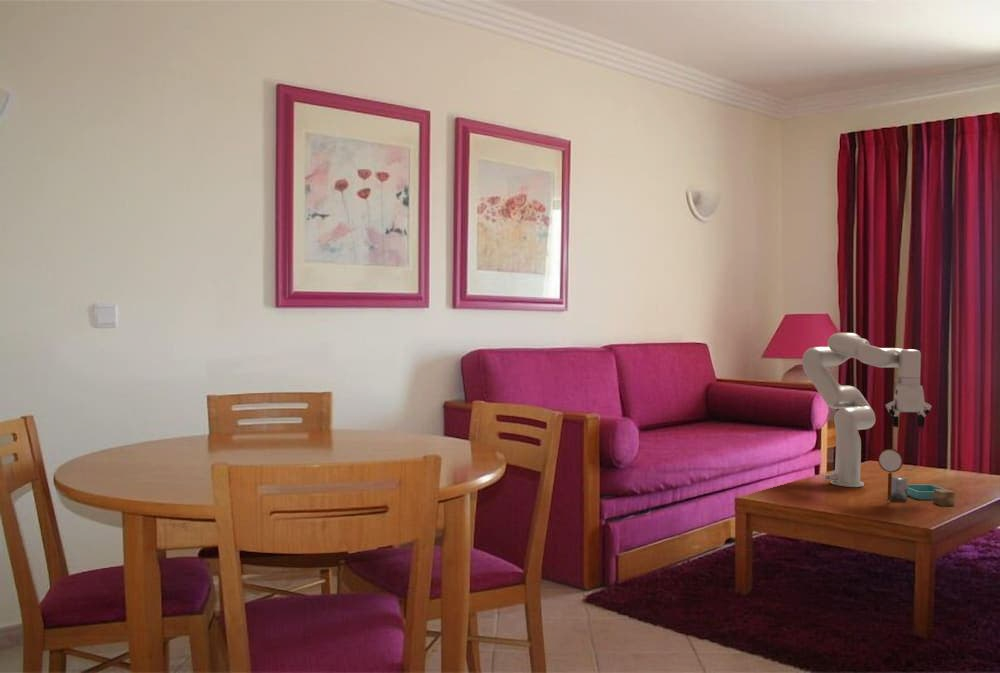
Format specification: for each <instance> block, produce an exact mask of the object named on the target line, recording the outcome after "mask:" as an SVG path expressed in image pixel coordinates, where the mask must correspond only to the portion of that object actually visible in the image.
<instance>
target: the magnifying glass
mask: <svg viewBox="0 0 1000 673" xmlns="http://www.w3.org/2000/svg"><path fill="white" fill-rule="evenodd" d="M877 462H878V465H879V466H880V468H881V469H882V470H884V471H885V472H887V474H888V475H887V476H888V477H887V502H888V503H891V501H892V500H891V484H892V477H893V474H892V473H896V472H898V471H900V469H901V468H902V466H903V463H904V459H903V456H902V455H901V453H900V452H899V451H898V450H896V449H893V448H886V449H884V450H882V451H881V452H880V453H879V454H878V459H877Z"/></svg>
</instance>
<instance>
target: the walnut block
mask: <svg viewBox="0 0 1000 673" xmlns="http://www.w3.org/2000/svg"><path fill="white" fill-rule="evenodd" d="M955 495H956V494H955V491H954V490H953V491H952V490H949V489H946V488H943V489H934V498H933V500H932V501H933V502H932V503H934V504H937V505H939V506H955V499H956V498H955V497H956V496H955Z"/></svg>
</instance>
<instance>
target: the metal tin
mask: <svg viewBox="0 0 1000 673" xmlns="http://www.w3.org/2000/svg"><path fill="white" fill-rule="evenodd" d="M908 485H909V479H908V478H907V477H901V476H892V484H891V499H892V500H891V501H895V500H896V501H897V502H908V496H907V491H908Z"/></svg>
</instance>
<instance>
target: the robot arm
mask: <svg viewBox="0 0 1000 673" xmlns="http://www.w3.org/2000/svg"><path fill="white" fill-rule="evenodd" d="M805 350H806V351H805V352H804V353H803V355H802V359H801V360H802V361H801V363H802V369H803V372H804V373H805V375H806V376H807V378H808V380H810V382H811V383H812V384H813V386H814V387H815V389H816V390H817V391H818V393H819V395H820V396H821V398H822V400H823V401H824V403H825V405H826V406H827V407H829V408H830V409H835V410H837V411H836V412H835V414H834V417H833V424H834V428H835V461H834V462H835V465H834V466H835V467H834V468H835V469H834V471H832V473H830V474H826V473H825V474H823V477H822V478H823V479H824V480H830V484H832V485H835V486H840V487H846V488H847V487H848V488H860V487H861V488H862V487H864V485H865V482H863V481H861V462H862V461H861V459H862V440H861V436H860V434H859V431H861V430H868V429H871V428H872V427H874V425H875V423H876V421H877V420H876V414H875V411H874V410H873V408H872V407H871V405H870V403H869V402H868V401H867V400H866V398H865V397H864V395H863V393H861V391H860V390H859V389H858V388H857V387H855V386H852V385H841V384H840V383H839V382H838V381H837V380H836V378H835V376H834V375H833V374H832V373H831V372H830V371H829V370H827V369H826V368H827V367H829V368H830V367H838V366H840V365H842V364H843V363H845V362H846V361H848V360H849V359H851V358H853V359H855V360H858V361H860V363H863V364H864V365H865V364H866V365H869V366H871V367H872V366H873V367H876V368H898V377H897V378H895V379H894V382H895V383H897V385H896V387H895V391H894V397H893V400H892V401H890V402H888V403H885V408H886V410H887V412H888V413H889V414H890V416H891V424H892V427H894V428H899V423H900V422H899V419H900V418H899V415H900V414H901V413H917V414H918V416H917V427H919V428H924V427H925V426H924V425H925V418H926V416H927V415H928V414H929V412H930V411H931V408H932V405H931V404H930V403H928V402H926V401H925V394H924V389H923V385H921V364H922V363H921V360H922V357H921V356H922V353H921V351H920V350H918V349H915V348H914V349H911V348H910V349H909V348H908V349H905V348H900V347H878V346H874V345H871V344H870V342H869V340H868V339H866V338H862V337H861V336H860V335H859V334H857V333H854V332H836V333H833V334H832V335H830V336H829V338H828V340H827V346H814V347H810V348H807V349H805ZM892 406H893V409H892ZM858 430H859V431H858Z"/></svg>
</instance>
